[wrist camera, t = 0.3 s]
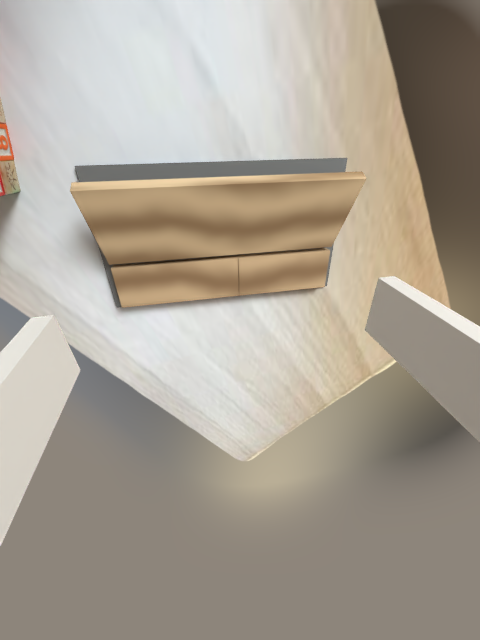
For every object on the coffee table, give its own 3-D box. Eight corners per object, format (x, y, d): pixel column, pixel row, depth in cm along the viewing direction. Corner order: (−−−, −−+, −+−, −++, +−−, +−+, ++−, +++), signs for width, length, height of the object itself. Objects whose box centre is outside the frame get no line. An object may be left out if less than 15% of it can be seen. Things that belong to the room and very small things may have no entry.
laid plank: (112, 265, 34) (110, 268, 33) (326, 248, 38) (330, 250, 37) (123, 303, 37) (121, 307, 36) (321, 283, 41) (324, 286, 40)
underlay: (76, 165, 29) (74, 166, 28) (345, 158, 33) (347, 158, 33) (117, 305, 38) (116, 307, 37) (325, 284, 42) (326, 285, 42)
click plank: (71, 182, 25) (70, 191, 24) (362, 171, 29) (366, 178, 28) (109, 257, 33) (109, 264, 33) (328, 240, 38) (331, 246, 37)
